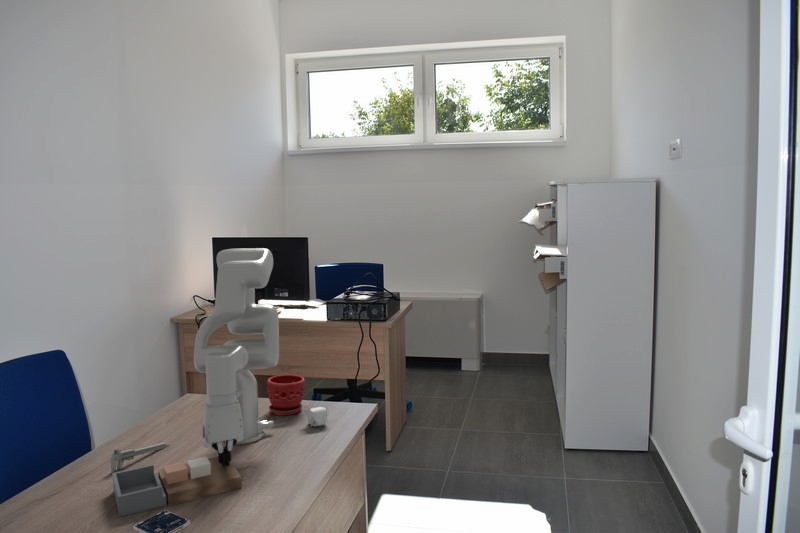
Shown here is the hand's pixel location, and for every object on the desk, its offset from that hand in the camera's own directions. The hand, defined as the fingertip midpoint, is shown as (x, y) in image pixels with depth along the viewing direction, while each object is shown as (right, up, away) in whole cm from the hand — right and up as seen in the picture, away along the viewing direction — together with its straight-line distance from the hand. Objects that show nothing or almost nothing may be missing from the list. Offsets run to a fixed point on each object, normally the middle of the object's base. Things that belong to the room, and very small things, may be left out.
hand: (224, 464), depth 160 cm
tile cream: (-6, -1, -3) cm, 7 cm away
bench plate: (-6, -4, -3) cm, 8 cm away
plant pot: (+7, +1, +53) cm, 53 cm away
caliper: (-28, -3, +14) cm, 32 cm away
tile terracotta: (-11, -2, -6) cm, 13 cm away
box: (-19, -5, -10) cm, 22 cm away
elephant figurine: (+20, 0, +38) cm, 43 cm away
